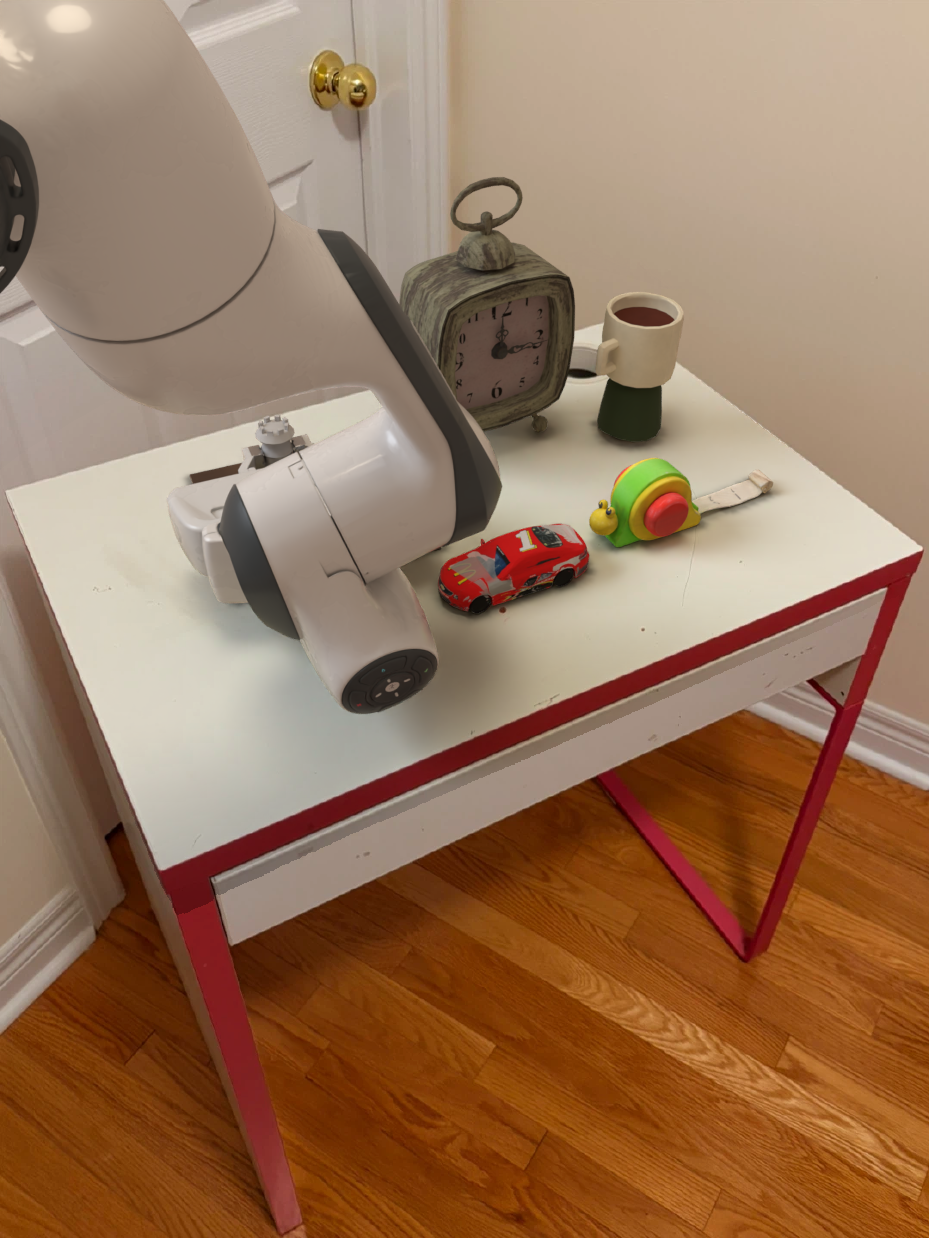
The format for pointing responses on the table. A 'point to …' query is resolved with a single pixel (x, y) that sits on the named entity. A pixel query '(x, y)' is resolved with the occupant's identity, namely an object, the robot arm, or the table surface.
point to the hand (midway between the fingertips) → (274, 447)
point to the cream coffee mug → (637, 362)
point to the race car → (513, 567)
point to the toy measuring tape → (662, 502)
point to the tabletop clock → (494, 320)
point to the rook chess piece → (275, 438)
